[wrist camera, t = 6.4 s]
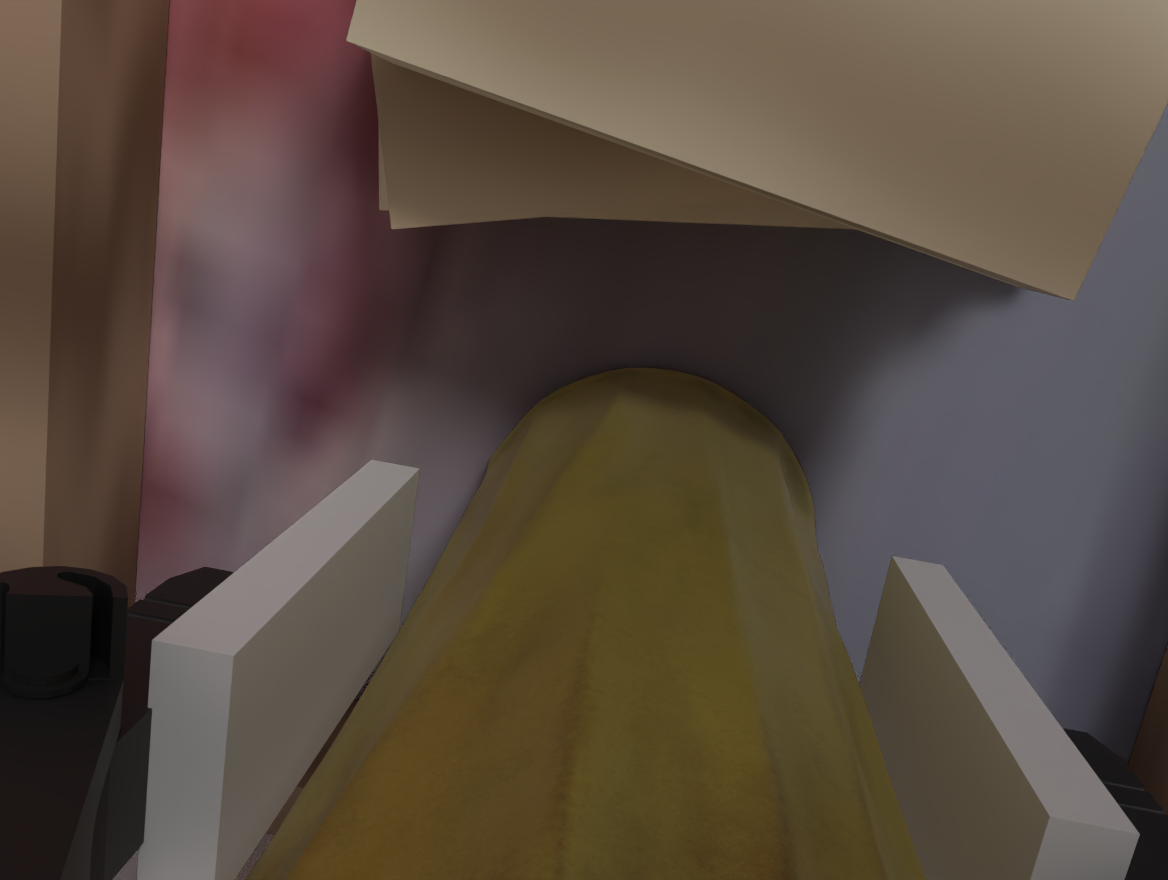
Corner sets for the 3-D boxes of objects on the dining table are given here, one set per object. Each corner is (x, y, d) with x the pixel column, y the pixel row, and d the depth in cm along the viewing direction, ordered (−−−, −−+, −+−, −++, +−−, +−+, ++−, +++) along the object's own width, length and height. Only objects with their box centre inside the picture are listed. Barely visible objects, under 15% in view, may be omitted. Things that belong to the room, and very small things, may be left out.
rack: (127, -331, 16) (2, -453, 13) (1498, -135, 15) (1700, -219, 12) (81, 691, 20) (-21, 773, 17) (1138, 903, 19) (1221, 1030, 16)
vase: (534, 319, 18) (-7, 739, 4) (867, 430, 17) (1578, 1290, 4) (440, 622, 19) (-200, 1730, 5) (745, 728, 19) (920, 2138, 5)
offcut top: (482, -255, 13) (445, -337, 11) (1155, -17, 13) (1243, -57, 11) (394, 63, 14) (346, 40, 12) (1017, 286, 14) (1074, 301, 12)
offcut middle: (393, -78, 15) (350, -119, 13) (1086, -159, 14) (1152, -218, 12) (426, 226, 16) (391, 228, 14) (1076, 173, 15) (1135, 169, 13)
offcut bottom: (411, -93, 17) (376, -133, 15) (1086, -84, 16) (1143, -124, 14) (411, 210, 18) (379, 209, 16) (1041, 235, 17) (1088, 238, 15)
